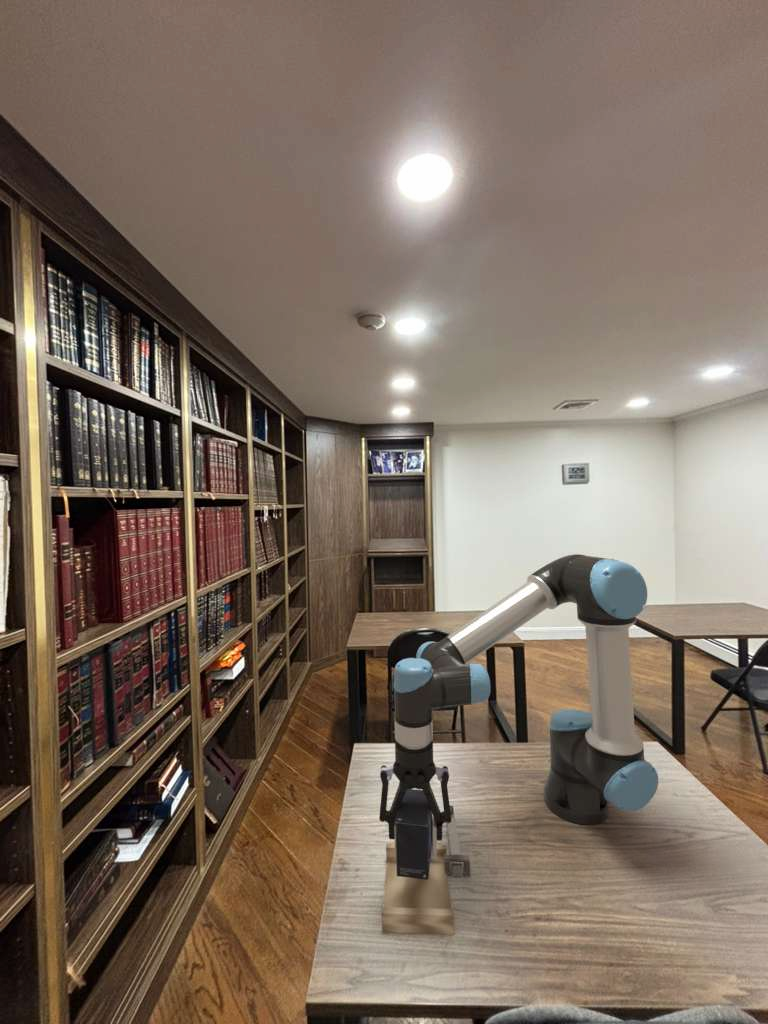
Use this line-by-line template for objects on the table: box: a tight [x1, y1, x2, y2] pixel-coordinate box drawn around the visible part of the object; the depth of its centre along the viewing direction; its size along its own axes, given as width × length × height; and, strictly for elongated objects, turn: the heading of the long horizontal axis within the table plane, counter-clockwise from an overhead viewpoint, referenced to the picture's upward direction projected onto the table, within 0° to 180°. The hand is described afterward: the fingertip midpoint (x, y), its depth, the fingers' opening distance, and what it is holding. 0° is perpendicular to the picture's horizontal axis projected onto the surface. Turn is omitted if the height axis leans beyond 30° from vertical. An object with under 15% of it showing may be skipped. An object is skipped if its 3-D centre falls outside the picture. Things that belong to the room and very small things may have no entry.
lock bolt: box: [446, 804, 464, 878], centre depth 100 cm, size 2×18×3 cm, turn 177°
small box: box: [395, 788, 433, 880], centre depth 87 cm, size 11×6×10 cm, turn 169°
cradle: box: [381, 843, 471, 935], centre depth 88 cm, size 18×16×4 cm
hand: (415, 853), depth 87 cm, fingers closed on small box, 7 cm apart
